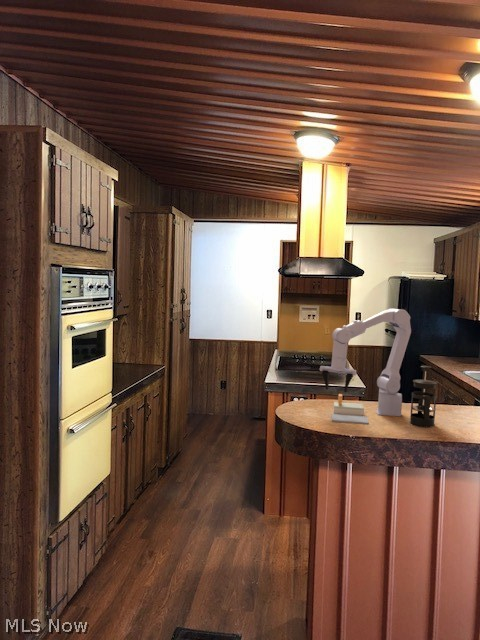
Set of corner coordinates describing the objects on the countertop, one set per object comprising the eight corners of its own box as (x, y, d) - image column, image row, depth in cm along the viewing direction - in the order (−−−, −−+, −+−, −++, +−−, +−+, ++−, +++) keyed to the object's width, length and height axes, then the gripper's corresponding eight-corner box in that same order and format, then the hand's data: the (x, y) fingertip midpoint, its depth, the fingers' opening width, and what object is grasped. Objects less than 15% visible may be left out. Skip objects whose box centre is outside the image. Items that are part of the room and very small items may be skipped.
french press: (406, 419, 216) (410, 363, 214) (430, 421, 215) (434, 364, 213) (413, 427, 204) (417, 368, 202) (438, 429, 203) (443, 369, 201)
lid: (362, 407, 226) (363, 394, 226) (363, 412, 218) (364, 398, 218) (333, 405, 228) (334, 392, 228) (333, 409, 220) (334, 396, 220)
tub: (362, 411, 226) (362, 405, 226) (363, 416, 219) (363, 410, 218) (333, 409, 228) (333, 403, 228) (333, 414, 220) (334, 408, 220)
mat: (366, 417, 216) (366, 416, 216) (368, 424, 207) (368, 422, 207) (331, 415, 219) (331, 413, 218) (331, 421, 209) (331, 419, 209)
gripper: (319, 356, 218) (316, 389, 219) (355, 360, 213) (352, 394, 214) (323, 354, 225) (320, 386, 226) (358, 358, 220) (355, 391, 221)
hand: (336, 390), depth 220 cm, fingers open, 7 cm apart
